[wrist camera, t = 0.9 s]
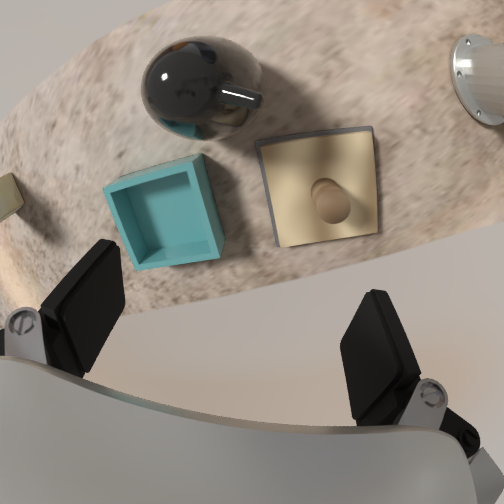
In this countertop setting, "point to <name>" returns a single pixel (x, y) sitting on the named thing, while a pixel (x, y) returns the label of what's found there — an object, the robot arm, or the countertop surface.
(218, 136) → the pump dispenser
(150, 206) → the dish
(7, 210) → the skincare box
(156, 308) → the countertop surface
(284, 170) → the lid
